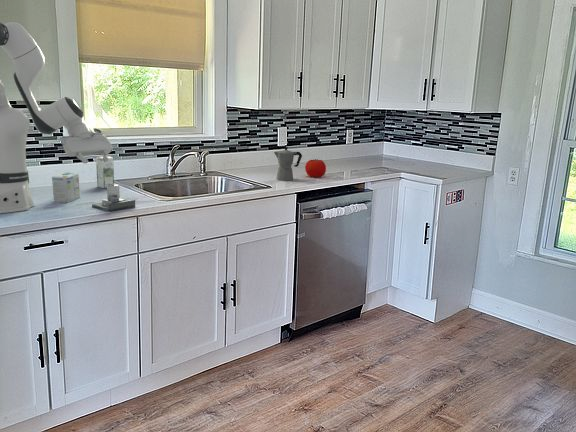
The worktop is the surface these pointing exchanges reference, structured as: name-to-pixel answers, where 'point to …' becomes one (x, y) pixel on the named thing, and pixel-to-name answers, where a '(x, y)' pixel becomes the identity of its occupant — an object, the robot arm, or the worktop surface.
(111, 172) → the syrup box
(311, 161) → the tomato
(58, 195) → the light bulb box
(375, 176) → the worktop surface
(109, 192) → the hub
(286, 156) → the coffeepot
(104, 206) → the seat plate
